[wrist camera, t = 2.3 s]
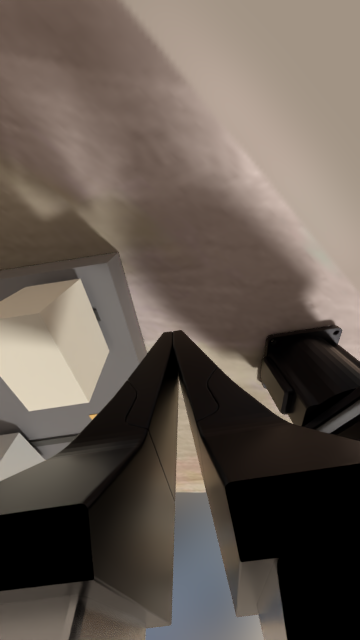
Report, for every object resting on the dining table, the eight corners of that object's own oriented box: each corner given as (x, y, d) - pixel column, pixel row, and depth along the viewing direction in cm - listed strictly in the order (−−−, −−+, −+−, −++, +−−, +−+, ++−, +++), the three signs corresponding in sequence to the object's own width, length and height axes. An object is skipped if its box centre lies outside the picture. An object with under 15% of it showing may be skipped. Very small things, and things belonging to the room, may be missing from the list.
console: (118, 252, 13) (106, 263, 11) (164, 415, 22) (164, 444, 20) (-111, 287, 14) (-181, 307, 11) (26, 435, 23) (7, 466, 20)
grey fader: (18, 432, 17) (-20, 491, 13) (46, 461, 19) (20, 518, 16) (-16, 437, 17) (-63, 497, 13) (16, 466, 19) (-16, 523, 16)
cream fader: (80, 278, 11) (38, 312, 7) (109, 350, 13) (89, 402, 10) (25, 287, 11) (-42, 325, 7) (65, 357, 13) (28, 411, 10)
